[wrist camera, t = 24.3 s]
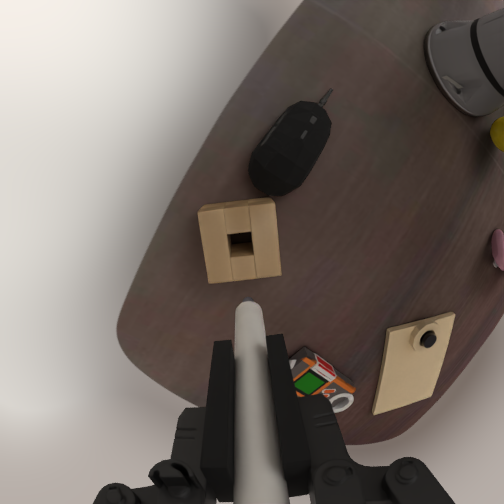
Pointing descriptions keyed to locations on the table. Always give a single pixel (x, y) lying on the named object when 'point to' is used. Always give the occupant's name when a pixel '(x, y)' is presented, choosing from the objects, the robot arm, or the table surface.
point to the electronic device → (320, 379)
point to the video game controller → (498, 248)
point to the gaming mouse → (290, 148)
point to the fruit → (498, 133)
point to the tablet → (411, 362)
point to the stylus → (255, 415)
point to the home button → (428, 339)
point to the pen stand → (243, 254)
